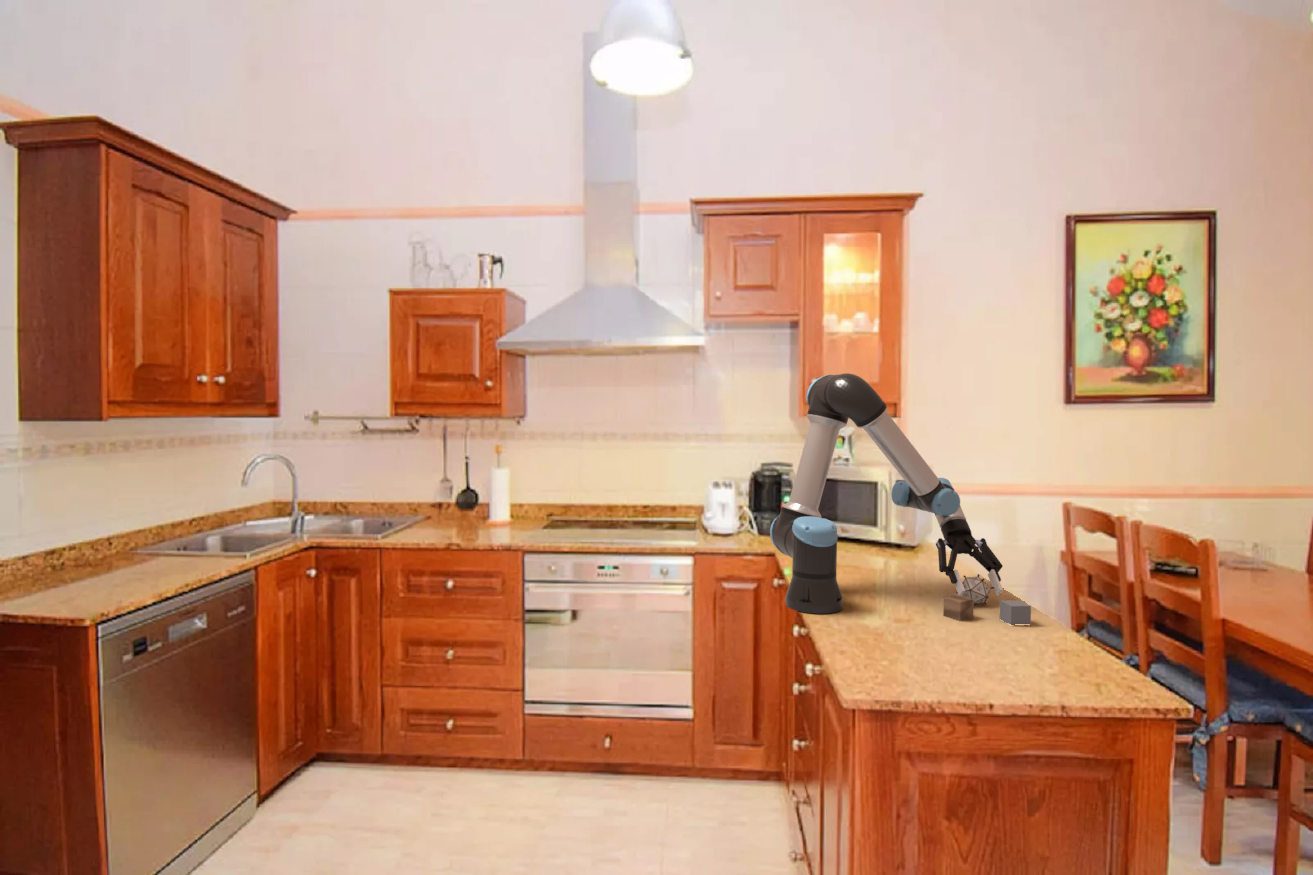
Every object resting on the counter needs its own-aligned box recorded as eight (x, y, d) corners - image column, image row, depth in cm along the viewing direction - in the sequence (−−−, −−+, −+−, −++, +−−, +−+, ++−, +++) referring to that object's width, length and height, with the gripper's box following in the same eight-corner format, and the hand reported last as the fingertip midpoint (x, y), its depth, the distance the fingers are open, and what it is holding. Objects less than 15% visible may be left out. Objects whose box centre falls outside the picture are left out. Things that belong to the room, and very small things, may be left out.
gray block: (1010, 626, 168) (1011, 606, 167) (999, 620, 173) (1000, 600, 172) (1030, 626, 168) (1030, 606, 168) (1018, 619, 173) (1019, 600, 173)
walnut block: (960, 621, 171) (960, 602, 171) (943, 616, 176) (943, 597, 175) (973, 618, 174) (973, 599, 173) (956, 613, 178) (956, 594, 178)
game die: (981, 619, 185) (1000, 596, 179) (950, 606, 186) (968, 583, 180) (981, 596, 192) (999, 573, 186) (951, 584, 193) (968, 561, 187)
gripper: (985, 532, 201) (1015, 599, 186) (912, 532, 200) (935, 600, 185) (996, 517, 196) (1027, 585, 181) (920, 517, 195) (945, 586, 180)
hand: (981, 593), depth 183 cm, fingers open, 10 cm apart
